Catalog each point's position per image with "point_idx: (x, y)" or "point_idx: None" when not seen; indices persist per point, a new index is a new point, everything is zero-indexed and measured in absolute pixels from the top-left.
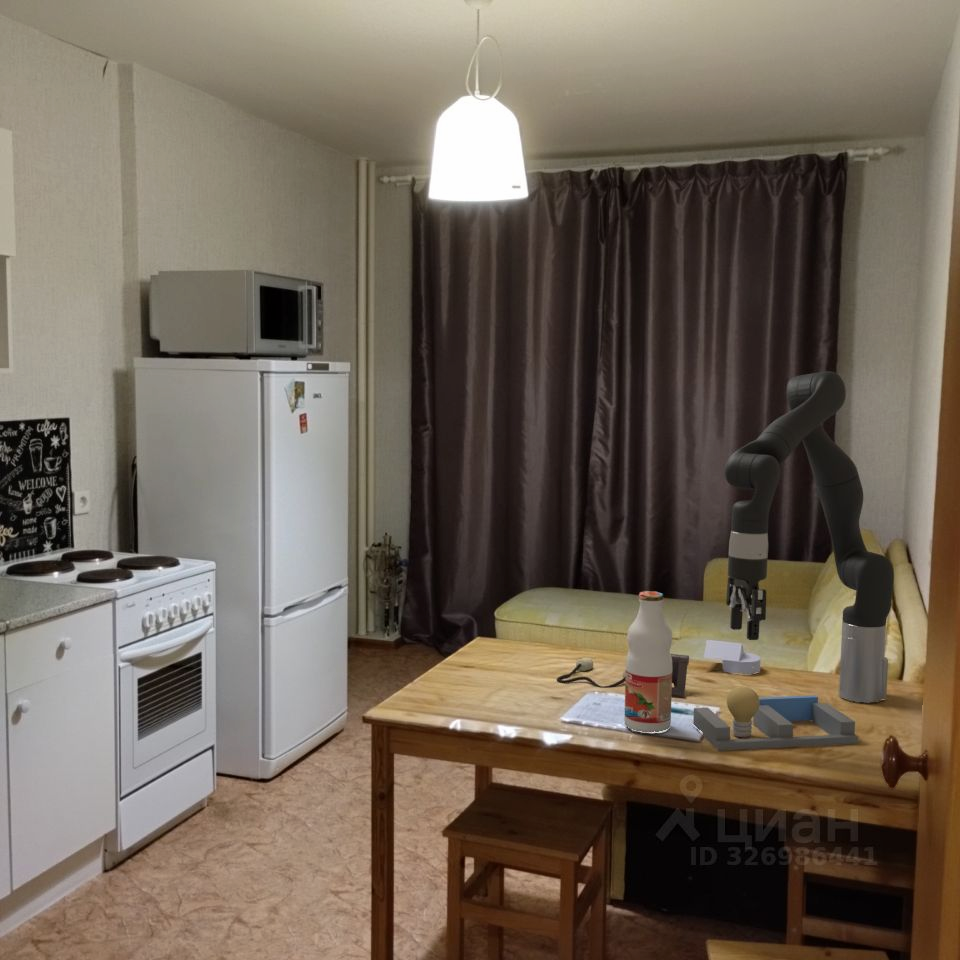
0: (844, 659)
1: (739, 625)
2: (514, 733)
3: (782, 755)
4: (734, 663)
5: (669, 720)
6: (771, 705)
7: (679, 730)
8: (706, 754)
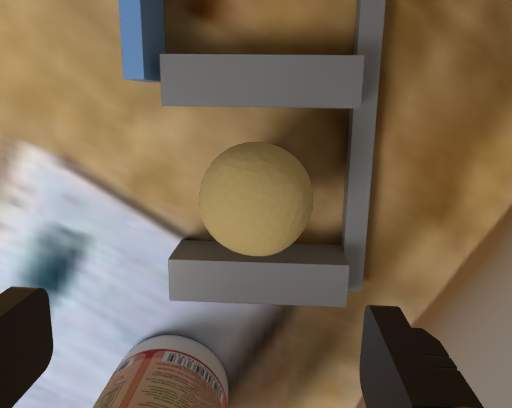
0: None
1: (29, 317)
2: None
3: (427, 131)
4: None
5: (203, 361)
6: (149, 33)
7: (203, 317)
8: None
